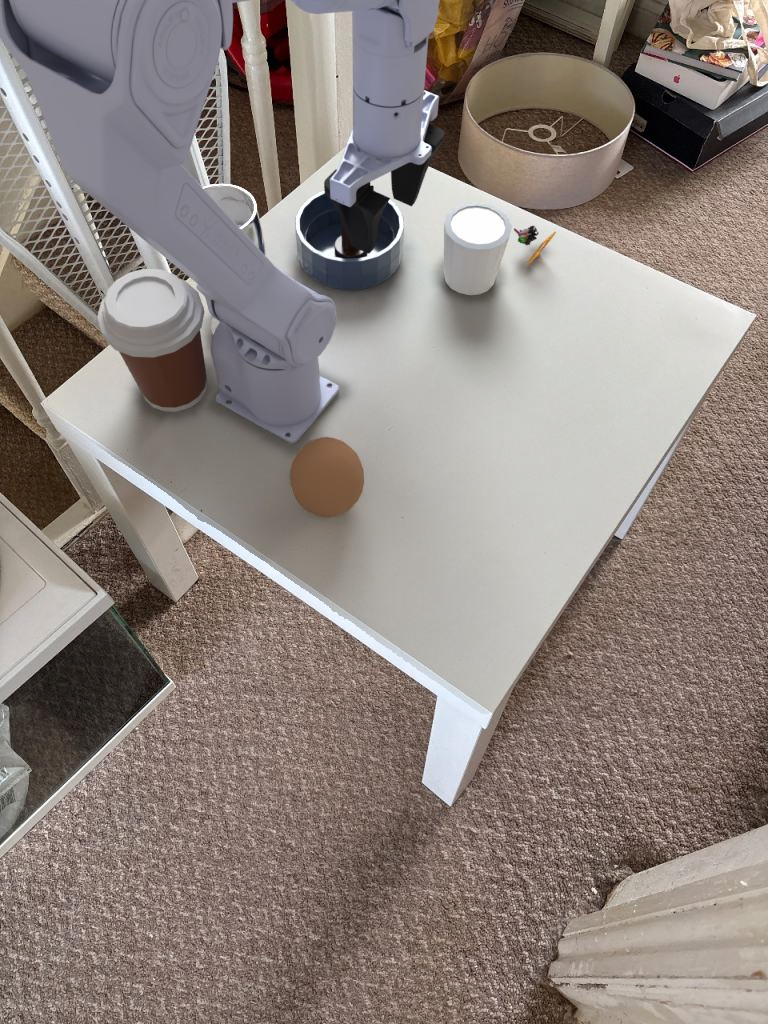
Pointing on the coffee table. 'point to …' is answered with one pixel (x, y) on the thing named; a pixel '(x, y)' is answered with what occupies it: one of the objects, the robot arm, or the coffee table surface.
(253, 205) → the beer glass
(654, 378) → the coffee table surface
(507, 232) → the white cylinder
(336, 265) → the bowl
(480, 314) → the coffee table surface
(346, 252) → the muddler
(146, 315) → the coffee cup
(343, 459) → the egg
